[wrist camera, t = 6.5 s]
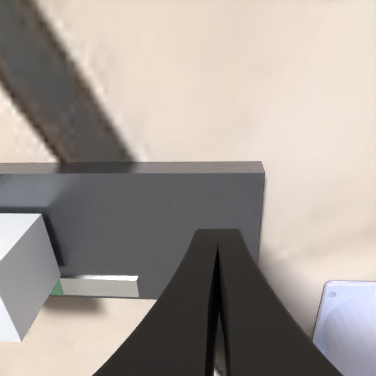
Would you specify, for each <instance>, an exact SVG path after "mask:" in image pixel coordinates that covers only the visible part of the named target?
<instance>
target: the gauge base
mask: <svg viewBox="0 0 376 376" xmlns="http://www.w3.org/2000/svg"><path fill="white" fill-rule="evenodd" d="M264 176H265V172H264V169H263V165H262V162H261V161H255V162H104V163H0V213H11V214H42V217H43V221H44V224H45V227H46V230H47V233H48V236H49V239H50V243H51V246H52V249H53V252H54V255H55V258H56V261H57V265H58V268H59V271H60V274H61V276H60V278H59V279H58V281H57V283H56V284H55V286H54V288H53V289H52V291H51V293H50V294H49V296H65V297H96V298H126V299H157V300H158V298H159V297H160V295H161V294H162V292H163V291H164V289H165V288H166V286H167V285H168V283H169V282H170V280H171V278H172V277H173V275H174V273H175V272H176V270H177V268H178V266H179V265H180V263H181V261H182V259H183V257H184V255H185V253H186V251H187V249H188V247H189V245H190V243H191V241H192V238H193V235H194V232H195V231H196V230H197V229H239V230H240V231H241V232H242V235H243V237H244V240H245V242H246V245H247V247H248V249H249V251H250V253H251V255H252V257H253V259H254V260H255V262H256V264H257V261H258V249H259V237H260V225H261V213H262V200H263V188H264Z"/></svg>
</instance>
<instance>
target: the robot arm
mask: <svg viewBox="0 0 376 376" xmlns="http://www.w3.org/2000/svg"><path fill="white" fill-rule="evenodd" d="M332 292H333V293H332ZM219 312H220V321H221V331H222V340H223V349H224V358H225V368H226V376H376V282H357V281H330V282H327V283H326V284H325V287H324V291H323V296H322V300H321V305H320V309H319V313H318V318H317V322H316V327H315V331H314V335H313V340H312V341H311V340H310V338H309V337H308V336H307V335H306V334H305V332H304V331H303V330H302V329H301V328H300V326H299V325H298V324H297V323H296V321H295V320H294V319H293V318H292V316H291V315H290V314H289V312H288V311H287V310H286V308H285V307H284V306H283V304H282V303H281V301H280V300H279V298H278V297H277V296H276V294H275V293H274V291H273V290H272V288H271V287H270V285H269V284H268V282H267V281H266V279H265V277H264V276H263V274H262V272H261V271H260V269H259V267H258V266H257V264H256V262H255V260H254V259H253V257H252V255H251V253H250V251H249V249H248V247H247V245H246V242H245V240H244V237H243V235H242V232H241V231H240V230H239V229H197V230H196V231H195V232H194V235H193V238H192V241H191V243H190V245H189V247H188V249H187V251H186V253H185V255H184V257H183V259H182V261H181V263H180V265H179V266H178V268H177V270H176V272H175V273H174V275H173V277H172V278H171V280H170V282H169V283H168V285H167V286H166V288H165V289H164V291H163V292H162V294H161V295H160V297H159V298H158V300H157V301H156V303H155V304H154V305H153V307H152V308H151V309H150V311H149V312H148V313H147V315H146V316H145V317H144V319H143V320H142V321H141V322H140V324H139V325H138V326H137V327H136V329H135V330H134V331H133V332H132V333H131V335H130V336H129V337H128V338H127V339H126V340H125V341H124V343H123V344H122V345H121V346H120V347H119V348H118V349H117V351H116V352H115V353H114V354H113V355H112V356H111V357H110V358H109V359H108V360H107V361H106V362H105V363H104V365H103V366H102V367H101V368H100V369H98V370H97V371H96V372H95V373H94V374H93V375H92V376H214V365H215V354H216V342H217V330H218V319H219Z"/></svg>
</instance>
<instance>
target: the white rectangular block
mask: <svg viewBox="0 0 376 376" xmlns="http://www.w3.org/2000/svg"><path fill="white" fill-rule="evenodd" d="M60 276H61V274H60V271H59V268H58V265H57V261H56V258H55V255H54V252H53V249H52V246H51V243H50V239H49V236H48V233H47V230H46V227H45V224H44V221H43V217H42V214H11V213H0V341H13V342H22V340H23V338H24V337H25V335H26V333H27V332H28V330H29V328H30V327H31V325H32V323H33V322H34V320H35V318H36V316H37V315H38V313H39V311H40V310H41V308H42V306H43V305H44V303H45V301H46V300H47V298H48V296H49V294H50V293H51V291H52V289H53V288H54V286H55V284H56V283H57V281H58V279H59V278H60Z"/></svg>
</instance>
